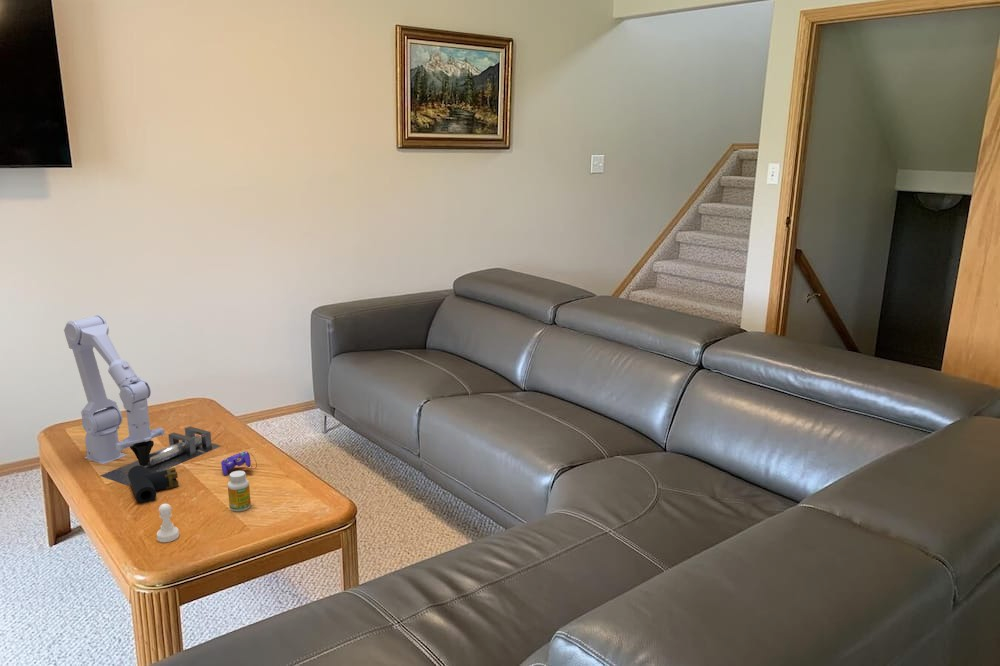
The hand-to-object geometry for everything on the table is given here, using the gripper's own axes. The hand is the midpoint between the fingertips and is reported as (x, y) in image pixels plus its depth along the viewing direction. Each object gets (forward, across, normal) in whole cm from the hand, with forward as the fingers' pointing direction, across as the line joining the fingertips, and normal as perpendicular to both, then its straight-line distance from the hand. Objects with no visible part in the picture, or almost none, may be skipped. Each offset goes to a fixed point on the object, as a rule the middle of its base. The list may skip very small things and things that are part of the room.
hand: (143, 465), depth 221 cm
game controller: (+2, +13, -25) cm, 28 cm away
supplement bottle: (+2, -2, -43) cm, 43 cm away
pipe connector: (+2, -7, -15) cm, 17 cm away
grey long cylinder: (+1, +10, 0) cm, 10 cm away
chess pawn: (+2, -22, -40) cm, 46 cm away
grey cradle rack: (+2, +6, 0) cm, 6 cm away
